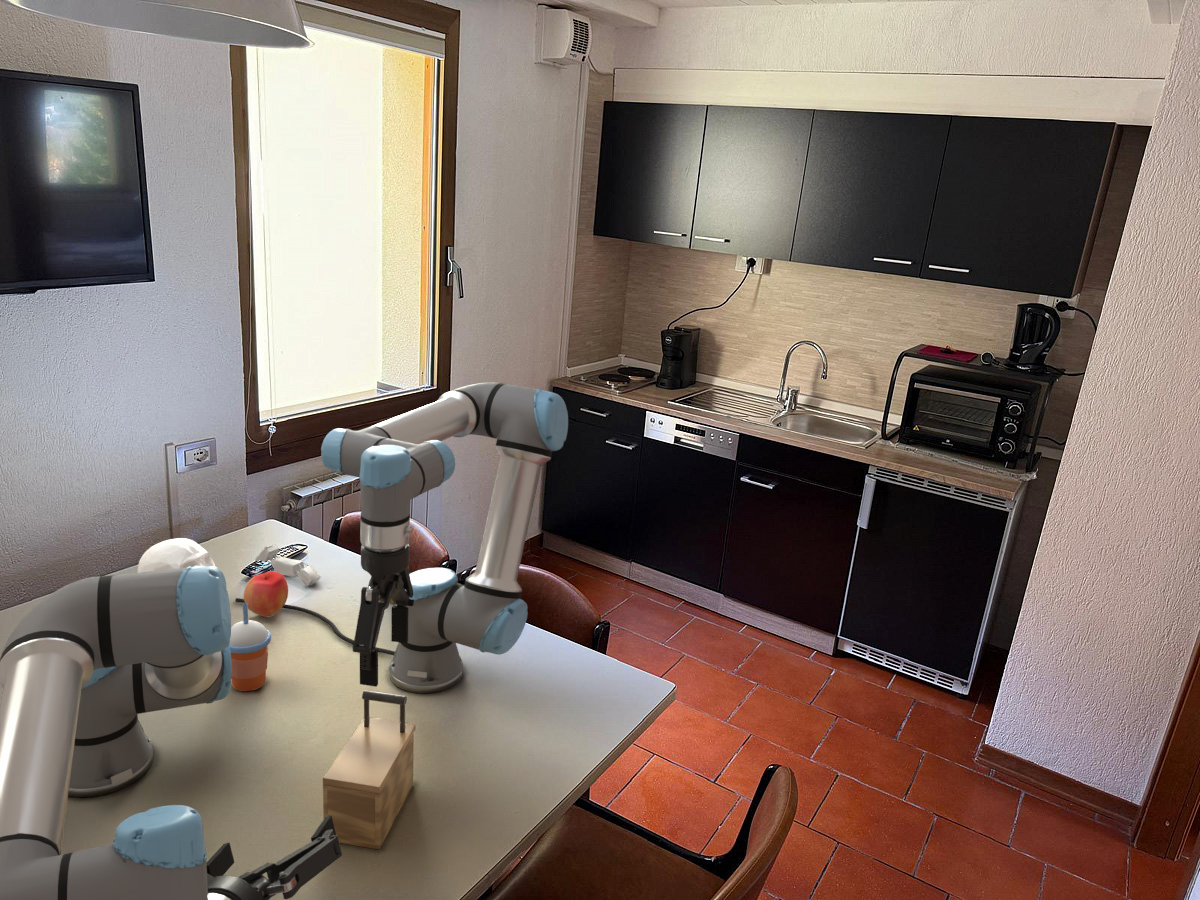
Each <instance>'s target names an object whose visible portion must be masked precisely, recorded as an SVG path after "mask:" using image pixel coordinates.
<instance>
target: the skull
mask: <svg viewBox="0 0 1200 900" xmlns="http://www.w3.org/2000/svg"><path fill="white" fill-rule="evenodd" d="M193 565H198V566H215V567H216V564H215V562H214V559H213V558H212V557H211V555H210V553H209V551H207V550H206V549H205V548H204V547H202V546H201V545H200V544H199V543H197V541H195V540H193V539H189V538H186V537H185V538H183V537H177V538H176V537H175V538H169V539H166V540H163V541H161V542H158V543H156V544H154V545H152V546H150V547H149V548H148V549H147V550H146V551H145V552H144V553H143V554H142V556H141V557H140V559H139V561H138V565H137V573H139V572H148V571H158V570H167V569H177V568H186V567H189V566H193Z"/></svg>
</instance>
